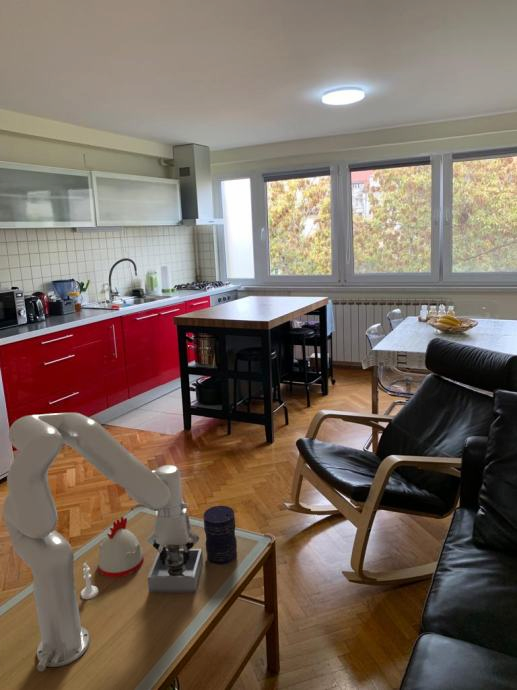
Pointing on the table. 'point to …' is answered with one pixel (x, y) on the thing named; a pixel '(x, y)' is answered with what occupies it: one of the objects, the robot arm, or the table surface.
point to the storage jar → (220, 535)
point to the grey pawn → (175, 561)
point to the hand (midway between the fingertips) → (175, 561)
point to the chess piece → (88, 585)
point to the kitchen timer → (120, 552)
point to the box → (181, 583)
